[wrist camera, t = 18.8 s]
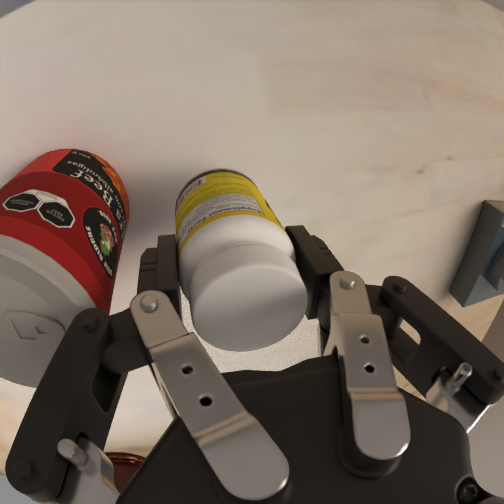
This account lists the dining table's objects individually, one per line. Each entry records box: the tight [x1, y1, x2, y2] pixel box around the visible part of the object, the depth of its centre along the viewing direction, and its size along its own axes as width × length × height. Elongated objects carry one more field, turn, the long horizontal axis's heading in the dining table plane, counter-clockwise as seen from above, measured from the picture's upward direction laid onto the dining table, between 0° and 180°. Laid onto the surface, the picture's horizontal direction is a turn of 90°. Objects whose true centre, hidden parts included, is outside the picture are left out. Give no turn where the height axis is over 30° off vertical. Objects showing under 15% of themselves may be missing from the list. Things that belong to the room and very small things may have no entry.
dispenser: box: [449, 200, 504, 307], centre depth 28 cm, size 12×10×5 cm
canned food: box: [0, 149, 129, 388], centre depth 13 cm, size 8×8×11 cm
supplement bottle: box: [175, 168, 308, 352], centre depth 14 cm, size 5×5×8 cm
